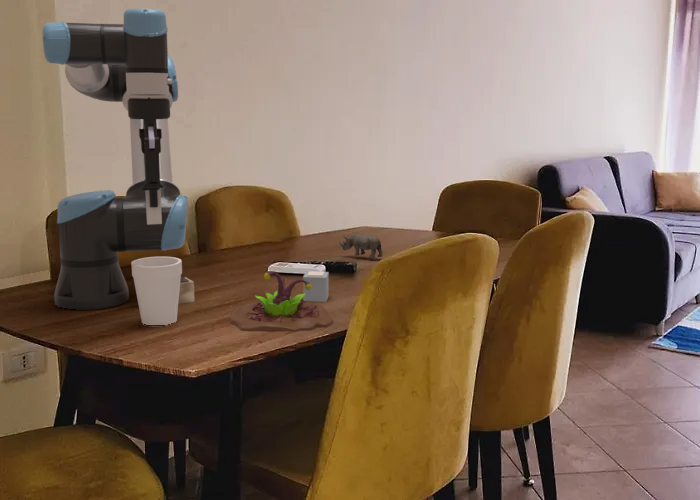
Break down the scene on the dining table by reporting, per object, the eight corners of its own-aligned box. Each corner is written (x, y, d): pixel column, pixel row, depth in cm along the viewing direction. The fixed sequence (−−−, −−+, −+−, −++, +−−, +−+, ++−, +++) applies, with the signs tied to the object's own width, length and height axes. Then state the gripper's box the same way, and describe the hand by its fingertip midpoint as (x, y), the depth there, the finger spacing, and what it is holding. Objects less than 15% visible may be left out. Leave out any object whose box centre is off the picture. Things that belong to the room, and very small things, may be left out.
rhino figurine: (343, 251, 221) (343, 230, 219) (385, 256, 214) (385, 235, 212) (335, 253, 217) (335, 232, 216) (377, 259, 210) (378, 237, 209)
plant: (228, 313, 159) (226, 261, 157) (320, 309, 163) (320, 257, 161) (233, 344, 140) (232, 285, 138) (338, 338, 144) (338, 280, 142)
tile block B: (303, 303, 165) (303, 275, 164) (306, 297, 170) (306, 270, 169) (326, 304, 165) (326, 276, 164) (328, 298, 170) (328, 270, 169)
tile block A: (172, 307, 162) (171, 283, 161) (164, 302, 166) (163, 278, 165) (194, 304, 165) (193, 280, 163) (186, 299, 169) (185, 275, 168)
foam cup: (162, 316, 155) (159, 254, 152) (194, 325, 150) (191, 260, 147) (124, 328, 147) (120, 262, 145) (156, 337, 142) (153, 269, 140)
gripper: (171, 97, 135) (176, 228, 140) (167, 96, 147) (172, 217, 152) (127, 97, 133) (134, 230, 138) (127, 96, 145) (133, 218, 150)
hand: (154, 223), depth 145 cm, fingers closed
